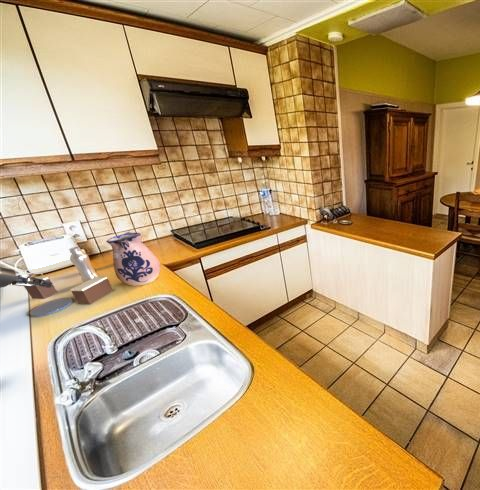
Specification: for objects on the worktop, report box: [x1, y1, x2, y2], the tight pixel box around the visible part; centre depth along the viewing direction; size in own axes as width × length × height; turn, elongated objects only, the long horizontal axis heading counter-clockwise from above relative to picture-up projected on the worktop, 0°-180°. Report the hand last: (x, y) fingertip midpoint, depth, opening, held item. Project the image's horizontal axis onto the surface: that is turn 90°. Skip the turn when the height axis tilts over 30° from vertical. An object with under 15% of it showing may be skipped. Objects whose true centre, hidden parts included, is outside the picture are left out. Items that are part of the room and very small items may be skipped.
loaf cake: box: [69, 276, 114, 305], centre depth 124 cm, size 11×6×8 cm, turn 175°
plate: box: [29, 297, 74, 318], centre depth 119 cm, size 13×13×1 cm
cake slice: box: [22, 276, 58, 300], centre depth 115 cm, size 5×6×8 cm
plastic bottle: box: [68, 246, 101, 283], centre depth 135 cm, size 6×7×20 cm
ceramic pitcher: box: [106, 231, 162, 287], centre depth 134 cm, size 18×21×25 cm
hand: (44, 285), depth 116 cm, fingers closed on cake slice, 6 cm apart
